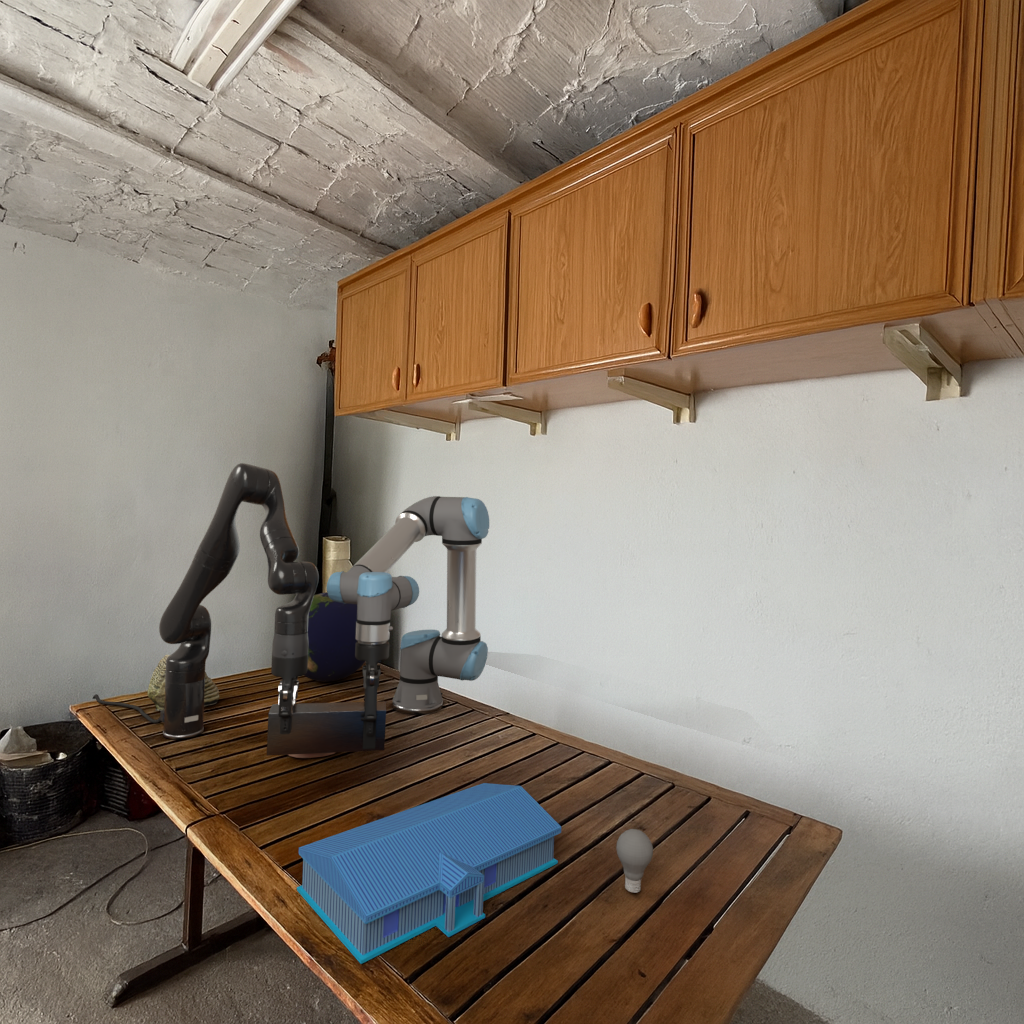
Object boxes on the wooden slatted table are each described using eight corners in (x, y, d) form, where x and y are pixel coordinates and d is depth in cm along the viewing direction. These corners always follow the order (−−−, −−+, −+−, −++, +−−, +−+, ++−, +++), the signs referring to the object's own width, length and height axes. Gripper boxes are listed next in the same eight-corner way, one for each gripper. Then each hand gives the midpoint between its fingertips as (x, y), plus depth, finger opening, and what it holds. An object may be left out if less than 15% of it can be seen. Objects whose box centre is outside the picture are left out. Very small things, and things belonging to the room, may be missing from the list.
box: (266, 755, 136) (268, 713, 136) (270, 744, 142) (272, 704, 142) (384, 750, 141) (386, 710, 141) (383, 740, 147) (385, 701, 147)
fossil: (144, 707, 182) (145, 655, 182) (212, 696, 194) (213, 647, 194) (151, 716, 175) (153, 662, 175) (221, 703, 188) (223, 653, 188)
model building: (372, 977, 84) (375, 903, 84) (295, 888, 102) (297, 827, 102) (571, 871, 110) (574, 814, 110) (482, 815, 129) (484, 766, 128)
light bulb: (610, 879, 108) (613, 822, 108) (644, 879, 109) (647, 822, 109) (619, 902, 102) (622, 840, 102) (655, 901, 103) (658, 840, 103)
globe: (261, 684, 208) (265, 593, 208) (321, 664, 236) (324, 584, 236) (336, 698, 197) (339, 602, 197) (389, 675, 225) (393, 591, 224)
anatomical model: (275, 738, 153) (300, 722, 164) (275, 755, 153) (300, 738, 164) (326, 745, 150) (348, 728, 162) (325, 762, 151) (347, 744, 162)
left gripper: (305, 660, 133) (301, 739, 133) (310, 644, 147) (307, 716, 147) (267, 661, 131) (264, 741, 132) (276, 644, 145) (273, 717, 146)
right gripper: (391, 651, 135) (387, 758, 135) (387, 631, 153) (384, 726, 154) (355, 651, 133) (351, 760, 133) (356, 632, 152) (352, 727, 152)
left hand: (287, 727), depth 139 cm, fingers closed on box, 6 cm apart
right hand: (368, 742), depth 144 cm, fingers closed on box, 6 cm apart
